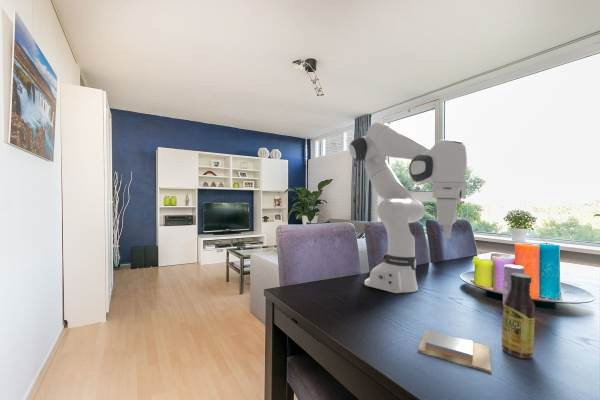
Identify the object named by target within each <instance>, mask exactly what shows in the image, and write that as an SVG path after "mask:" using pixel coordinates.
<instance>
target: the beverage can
mask: <svg viewBox="0 0 600 400" xmlns="http://www.w3.org/2000/svg"><path fill="white" fill-rule="evenodd" d="M502 270H503V272H502V273H503V274H502V276H503V279H502V280H503V281H502V286H503V288H502V289H503V290H502V293H503V294H502V305H503V306H504V302H505V300H506V298H507V296H508V294H509V292H510V288H511V279H510V277H511V273H520V274H525V272H526V271H525V267H524V266H522V265H517V264H509V263H506V264H504V266H503V269H502ZM525 275H526V274H525Z"/></svg>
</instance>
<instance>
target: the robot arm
mask: <svg viewBox="0 0 600 400" xmlns="http://www.w3.org/2000/svg"><path fill="white" fill-rule="evenodd" d="M366 133H367V134H366V135H363V136H359V137H358V138H355V139H353V140H352V141H351V142H350V144H349V153H350V155H351V158H352V159H353V160H354V161H355V162H364V161H365V162H364V168H365V172H366V175H367V178H368V179H369V181H370V183H371V185H372V186H373V188H374V190H375V192H376V194H377V195H378V196H379V197H380V198H381V199H382V201H381V202H380V203H379V204H378V205H377V210H376V211H377V212H376V213H377V216H378V218H379V219H380V220H381V222H382V223H383V224H384V228H385V230H386V234H387V252H385V253H384V254H383V256H382V260H383V261H382V262H381V263H379V264H378V265H376V266H374V267H373V268H372V269H371V270H370V272H369V273H370V274H369V277H367V278H366V279H364V285H365V286H366V287H369V288H370V287H371V288H375V289H377V290H378V289H379V290H382V291H387V292H389V293H393V294H394V293H395V294H402V293H415V292H418V291H419V287H418V283H417V282H418V281H417V275H416V269H417V256H416V252H415V250H416V249H415V248H416V239H415V236H414V235H413V233H412V232H411V229H410V225H409V224H411V223H417V221H420V220H422V219H423V218H424V216H425V213H426V207H425V205H424V204H423V202H421V201H420V200H419V199H417V198H415V196H413V194H412V193H410V191H409V190H407V188H406V187H405V186H404V185H403V184H402V183H401V182H400V180H399V178H398V177H397V175H396V174H395V172H394V170H393V169H392V167H391V166H390V164H389V163H388V161H387V157H389V158H394V159H395V158H397V159H405V160H411V161H410V163H409V166H408V170H409V171H408V172H409V173H408V174H409V175H410V178H411V180H413V181H414V182H416V183H420V184H432V199H435V201H436V203H435V206H436V207H435V209H436V218H437V223H438V225H439V226H442V229H443V238H444V240H445V239H447V240H450V239H452V230H453V225H454V224H455V223H456V222H457V218H458V217H457V216H458V215H457V214H458V205H461V199H466V196H467V195H466V194H467V192H466V191H467V181H466V177H465V174H466V170H467V166H468V165H467V161H468V160H467V158H468V157H467V148H466V145H465V144H464V142H463V141H461V140H455V139H452V140H451V139H440V140H437V141H435V143H434V145H433V146H432V147H431V148H430V147H429V146H426V145H425V144H422V143H421V142H419V141H417V140H416V139H414V138H412V137H411V136H410V135H407V134H406V133H404V132H403V131H401V130H400V129H398V128H397V127H395V126H393V125H391V124H389V123H386V122H384V121H383V122H382V121H375V122H374V123H372V124H371V125H370V126H369V127H368V129H367V131H366Z"/></svg>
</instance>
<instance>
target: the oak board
mask: <svg viewBox="0 0 600 400" xmlns="http://www.w3.org/2000/svg"><path fill="white" fill-rule="evenodd" d="M430 331H431V330H429V331H428V330H425V331H424V332H423V335H422V338H421V342H420V343H419V346H418V348H417V352H418V353H421V354H425V355H428V356H431V357H435V358H437V357H439V358H438V359H441V360H444V359H446V360H445V361H448V362H451V361H452V362H451V363H454V362H455V363H454V364H458V365H461V364H462V366H465V365H466V366H465V367H468V366H469V368H471V367H473V369H475V368H477V369H476V370H478V369H480V371H482V370H483V372H485V371H486V373H488V372H489V374H492V365H491V354H490V346H489V345H485V344H481V343H476V342H473V360H472V362H471V361H467V360H464V359H460V358H457V357H453V356H450V355H446V354H443V353H439V352H436V351H432V350H429V349H426V340H427V337H428V334H429V332H430Z"/></svg>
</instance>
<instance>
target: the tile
mask: <svg viewBox="0 0 600 400" xmlns="http://www.w3.org/2000/svg"><path fill="white" fill-rule="evenodd" d="M429 331H430V332H429V334H428V337H427V340H426V349H429V350H432V351H436V352H439V353H443V354H446V355H450V356H453V357H457V358H460V359H464V360H467V361H471V362H472V360H473V343H474V342H473V340H471V339H470V340H469V339H466V338H463V337H462V338H461V337H458V336H453V335H449V334H446V333H441V332H438V331H437V332H436V331H433V330H429Z"/></svg>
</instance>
